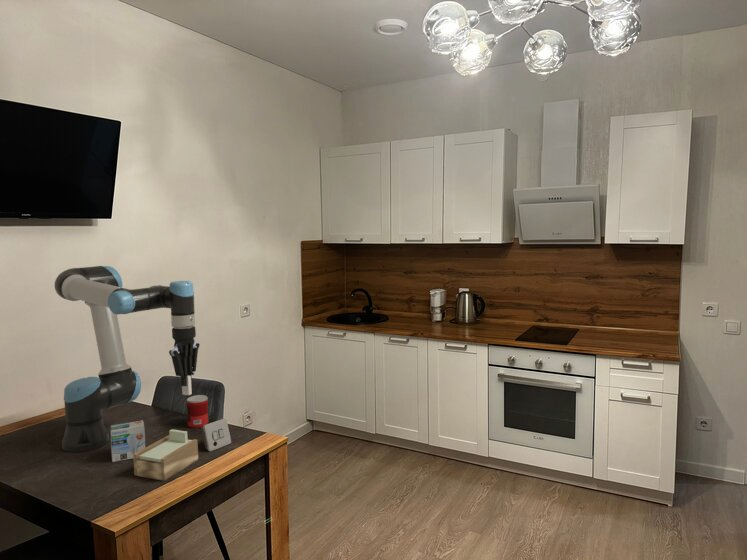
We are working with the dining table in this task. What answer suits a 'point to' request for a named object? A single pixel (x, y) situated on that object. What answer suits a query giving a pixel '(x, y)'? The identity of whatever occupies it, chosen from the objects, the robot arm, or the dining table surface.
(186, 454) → the pencil box
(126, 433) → the light bulb box
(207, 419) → the canned food
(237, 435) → the dining table surface
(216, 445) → the electrical switch
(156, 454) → the lid
